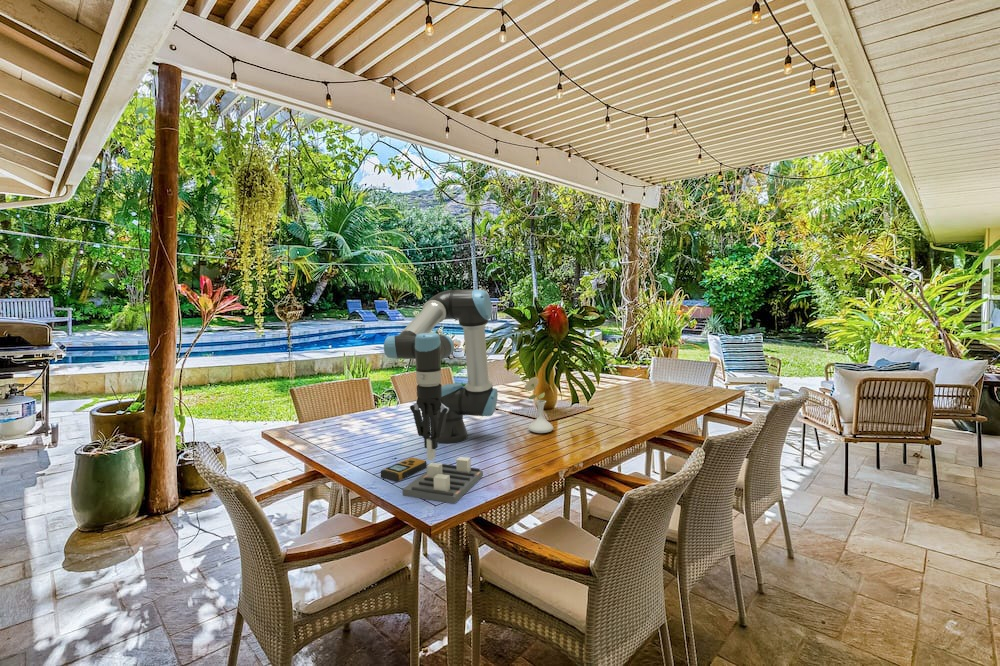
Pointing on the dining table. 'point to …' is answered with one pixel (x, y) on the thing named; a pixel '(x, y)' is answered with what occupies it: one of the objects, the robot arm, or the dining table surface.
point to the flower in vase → (540, 423)
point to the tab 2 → (442, 482)
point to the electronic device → (403, 469)
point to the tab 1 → (434, 469)
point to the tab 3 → (463, 464)
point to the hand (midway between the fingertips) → (431, 458)
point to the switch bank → (458, 488)
